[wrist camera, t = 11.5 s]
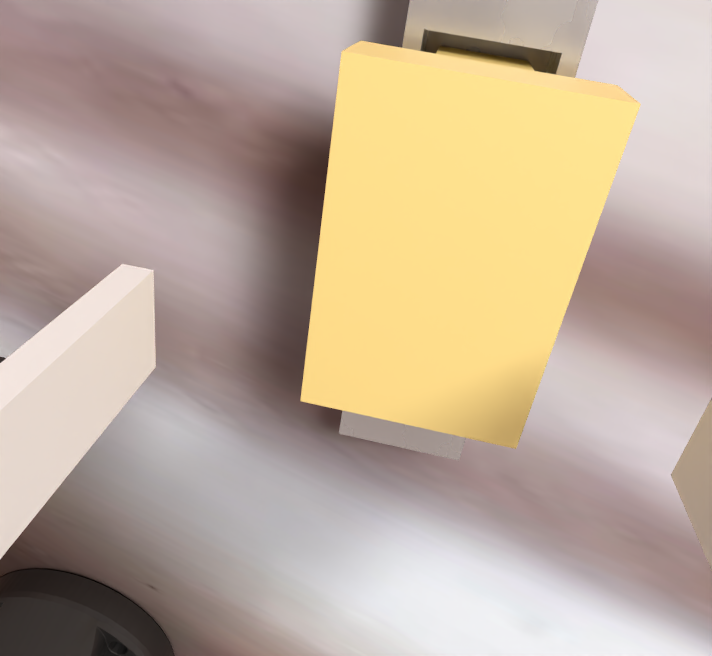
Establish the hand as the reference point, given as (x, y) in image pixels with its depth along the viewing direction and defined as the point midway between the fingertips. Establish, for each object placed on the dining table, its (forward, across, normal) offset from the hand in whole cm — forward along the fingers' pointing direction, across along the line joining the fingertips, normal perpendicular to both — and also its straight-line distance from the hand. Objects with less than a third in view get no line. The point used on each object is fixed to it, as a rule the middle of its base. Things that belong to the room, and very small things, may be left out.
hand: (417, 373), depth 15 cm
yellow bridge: (+12, 0, 0) cm, 12 cm away
